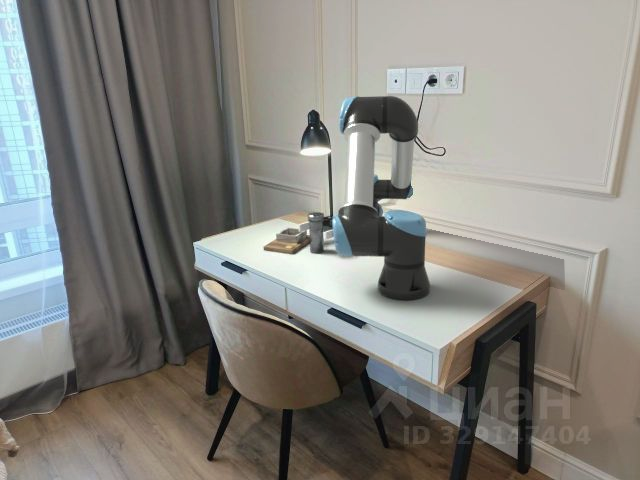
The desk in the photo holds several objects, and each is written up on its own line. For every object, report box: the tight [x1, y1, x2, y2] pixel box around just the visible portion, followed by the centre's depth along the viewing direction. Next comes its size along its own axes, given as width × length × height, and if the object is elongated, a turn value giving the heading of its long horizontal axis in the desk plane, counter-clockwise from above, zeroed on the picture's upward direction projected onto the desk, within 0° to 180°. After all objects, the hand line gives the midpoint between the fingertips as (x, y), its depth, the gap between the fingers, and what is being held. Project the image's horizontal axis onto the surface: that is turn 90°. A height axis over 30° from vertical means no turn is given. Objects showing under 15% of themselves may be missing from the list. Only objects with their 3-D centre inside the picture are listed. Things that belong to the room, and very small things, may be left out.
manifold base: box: [263, 227, 310, 255], centre depth 182 cm, size 18×12×4 cm, turn 155°
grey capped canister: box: [307, 211, 325, 255], centre depth 173 cm, size 6×6×14 cm
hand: (311, 231), depth 171 cm, fingers open, 13 cm apart
